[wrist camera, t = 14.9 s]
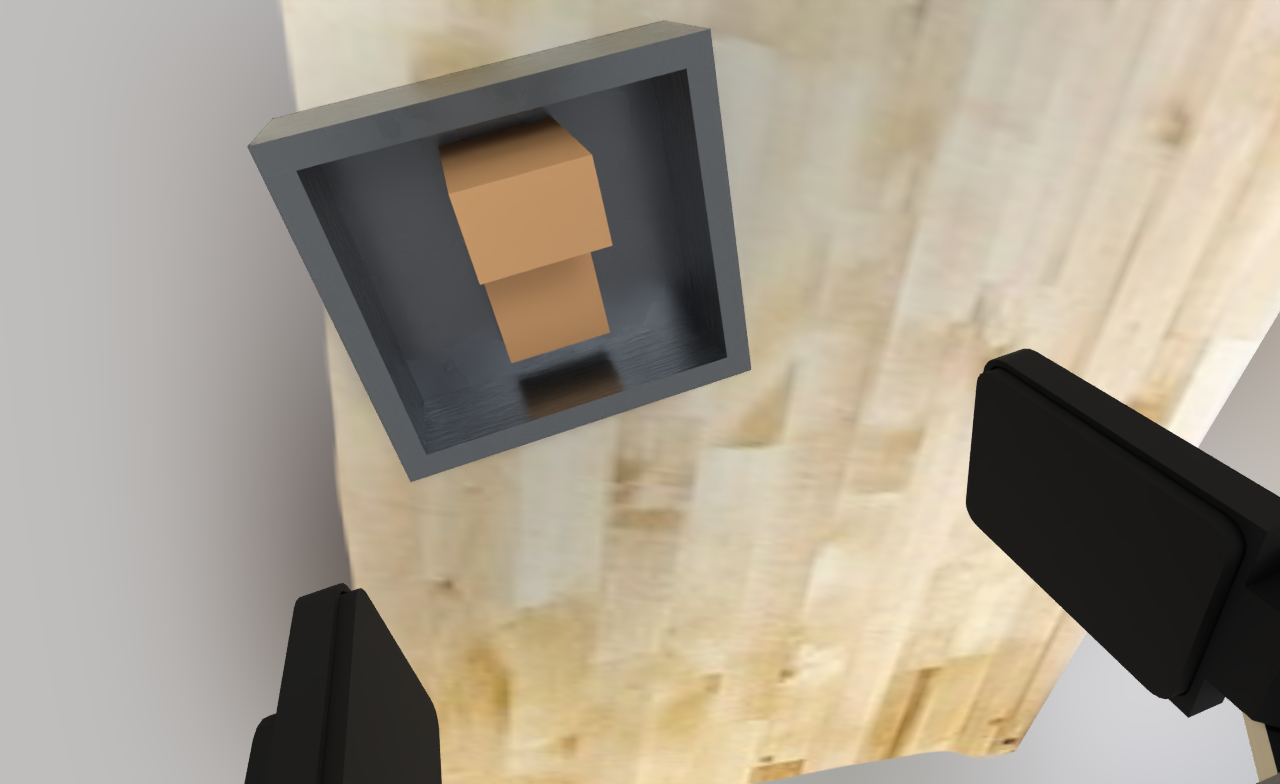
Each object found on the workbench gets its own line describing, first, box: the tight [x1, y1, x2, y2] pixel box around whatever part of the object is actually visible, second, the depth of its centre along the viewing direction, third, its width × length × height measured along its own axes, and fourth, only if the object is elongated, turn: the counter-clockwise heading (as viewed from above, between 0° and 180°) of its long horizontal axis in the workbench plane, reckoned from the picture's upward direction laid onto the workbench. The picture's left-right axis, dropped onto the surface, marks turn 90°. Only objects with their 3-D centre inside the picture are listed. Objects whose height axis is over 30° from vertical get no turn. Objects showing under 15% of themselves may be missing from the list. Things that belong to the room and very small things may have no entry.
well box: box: [248, 21, 751, 482], centre depth 28 cm, size 14×15×5 cm
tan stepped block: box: [438, 117, 613, 363], centre depth 27 cm, size 9×4×7 cm, turn 11°
